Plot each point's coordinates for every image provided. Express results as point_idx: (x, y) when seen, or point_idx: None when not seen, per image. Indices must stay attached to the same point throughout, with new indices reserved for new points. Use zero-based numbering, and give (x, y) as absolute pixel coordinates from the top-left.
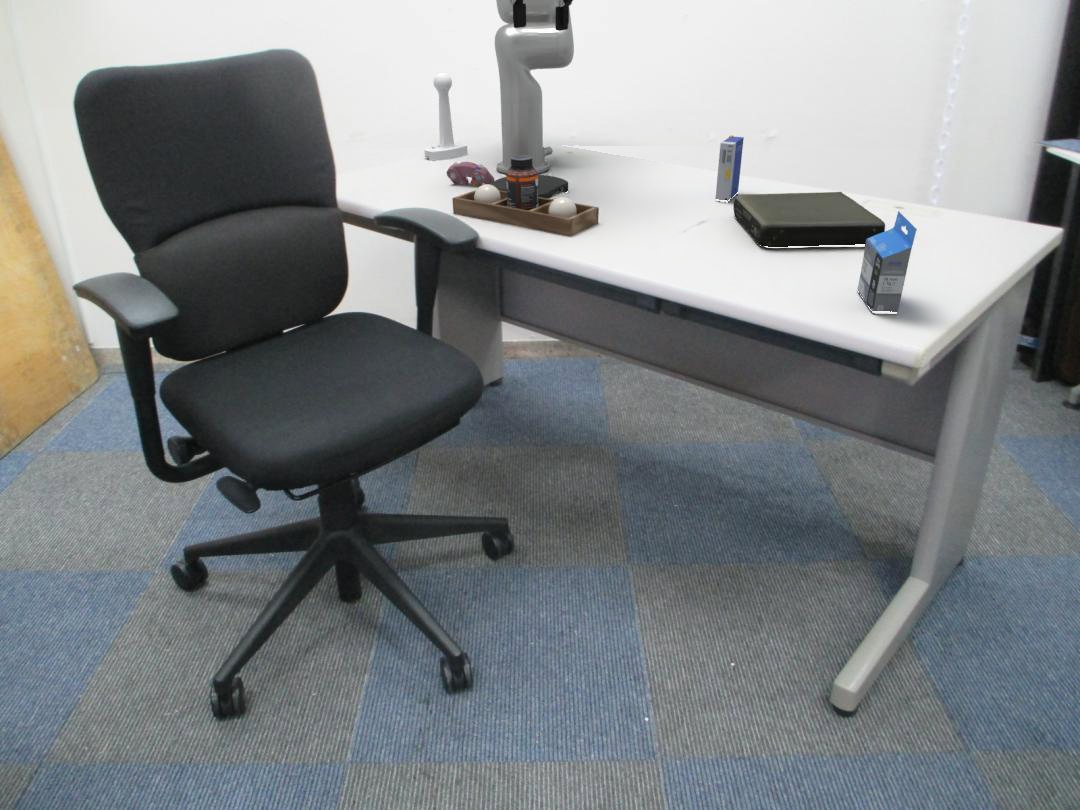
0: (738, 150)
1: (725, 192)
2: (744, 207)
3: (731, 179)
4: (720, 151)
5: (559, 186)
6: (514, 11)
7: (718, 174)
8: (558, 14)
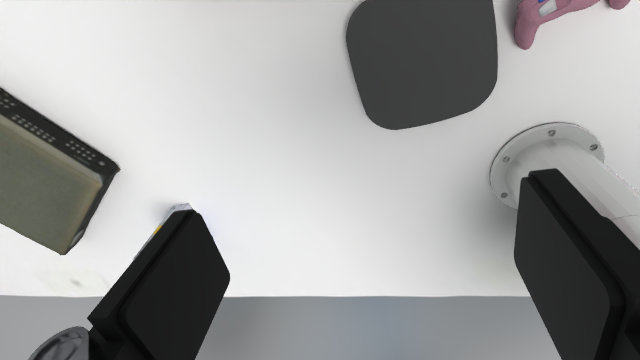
0: None
1: (170, 213)
2: (47, 143)
3: None
4: None
5: (356, 83)
6: (607, 243)
7: None
8: (125, 274)
